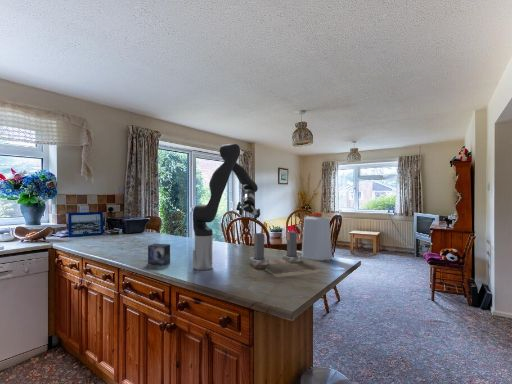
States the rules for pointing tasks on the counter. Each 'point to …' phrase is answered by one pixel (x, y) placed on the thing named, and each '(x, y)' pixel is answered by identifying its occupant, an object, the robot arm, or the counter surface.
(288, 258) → the wooden base with sockets
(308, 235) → the grey bottle
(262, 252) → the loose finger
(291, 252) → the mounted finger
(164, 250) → the small box
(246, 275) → the counter surface
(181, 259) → the counter surface
